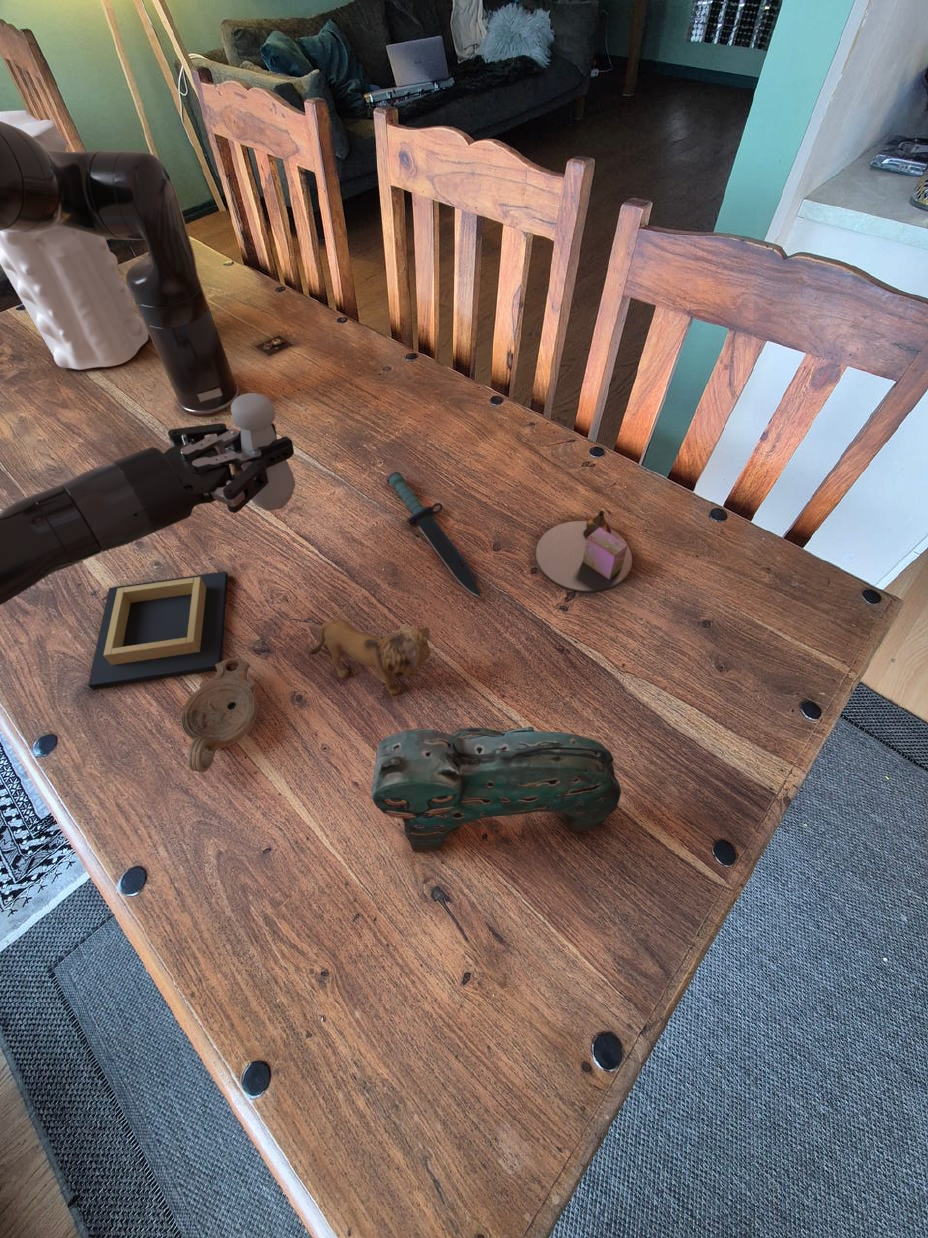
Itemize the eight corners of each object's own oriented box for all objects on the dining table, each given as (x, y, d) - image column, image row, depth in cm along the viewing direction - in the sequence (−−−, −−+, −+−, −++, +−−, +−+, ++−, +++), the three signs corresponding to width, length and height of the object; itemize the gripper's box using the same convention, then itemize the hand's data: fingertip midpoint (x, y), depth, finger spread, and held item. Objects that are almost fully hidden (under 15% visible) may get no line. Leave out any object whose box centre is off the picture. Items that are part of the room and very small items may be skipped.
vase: (126, 312, 120) (27, 99, 94) (169, 344, 112) (75, 122, 87) (37, 349, 113) (-96, 129, 87) (77, 385, 105) (-55, 157, 80)
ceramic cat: (394, 866, 58) (358, 777, 42) (392, 797, 62) (360, 691, 46) (611, 845, 58) (658, 749, 42) (596, 778, 62) (634, 667, 46)
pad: (113, 592, 78) (101, 576, 76) (228, 576, 79) (220, 560, 77) (92, 690, 70) (78, 675, 67) (221, 670, 71) (212, 655, 69)
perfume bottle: (651, 554, 79) (659, 528, 76) (590, 609, 75) (596, 584, 71) (576, 508, 85) (580, 482, 81) (515, 556, 80) (516, 530, 76)
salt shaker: (287, 478, 78) (268, 379, 68) (305, 506, 75) (288, 407, 65) (240, 492, 75) (213, 392, 65) (256, 521, 72) (231, 422, 62)
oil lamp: (214, 668, 71) (198, 643, 67) (279, 674, 70) (267, 648, 66) (169, 780, 63) (148, 758, 59) (242, 787, 63) (225, 766, 59)
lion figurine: (441, 664, 71) (436, 614, 63) (427, 705, 68) (420, 658, 60) (318, 637, 73) (300, 587, 66) (299, 676, 70) (278, 628, 63)
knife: (380, 478, 86) (412, 462, 87) (383, 489, 88) (414, 473, 89) (466, 599, 75) (502, 579, 76) (468, 609, 77) (503, 589, 78)
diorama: (287, 344, 111) (284, 333, 109) (269, 353, 110) (266, 341, 108) (278, 338, 113) (275, 327, 111) (260, 346, 111) (257, 335, 109)
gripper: (147, 508, 57) (313, 438, 64) (84, 433, 63) (243, 377, 71) (172, 567, 62) (322, 496, 70) (112, 492, 69) (256, 435, 76)
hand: (281, 437), depth 70 cm, fingers closed on salt shaker, 3 cm apart
